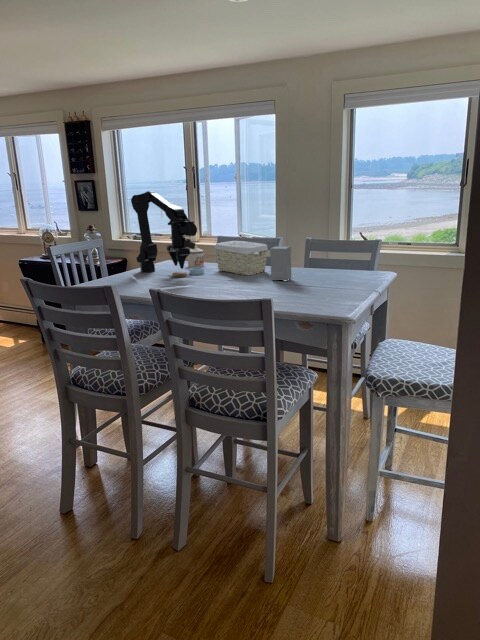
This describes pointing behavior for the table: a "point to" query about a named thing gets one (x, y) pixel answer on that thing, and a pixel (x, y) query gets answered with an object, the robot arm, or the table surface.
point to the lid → (179, 274)
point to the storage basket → (241, 257)
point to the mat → (180, 277)
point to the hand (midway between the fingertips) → (179, 267)
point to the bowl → (196, 271)
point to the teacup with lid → (196, 258)
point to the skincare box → (280, 263)
